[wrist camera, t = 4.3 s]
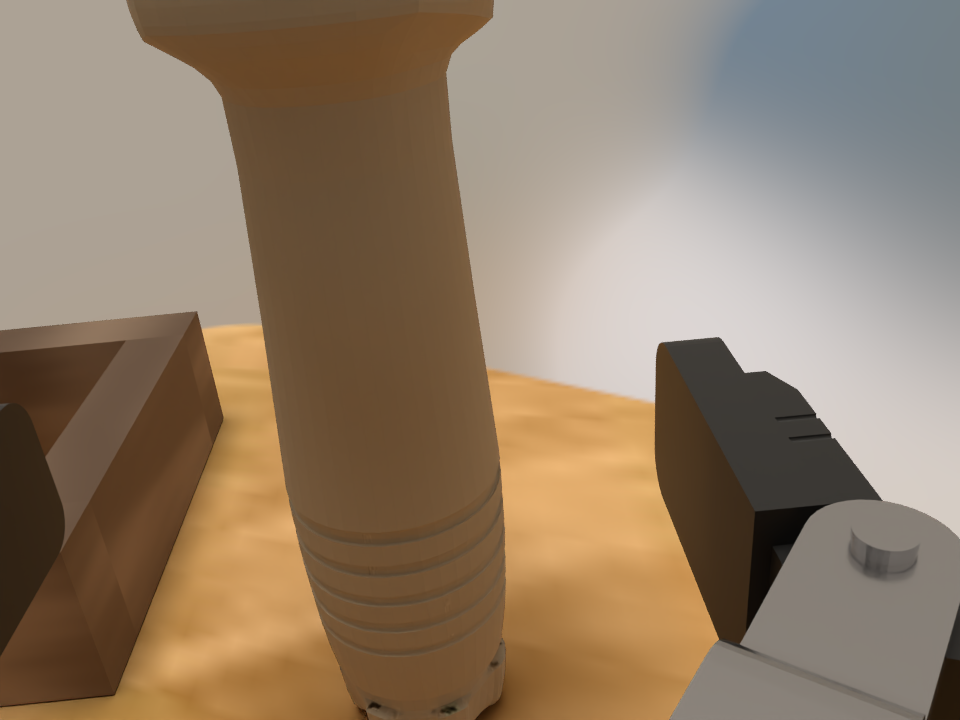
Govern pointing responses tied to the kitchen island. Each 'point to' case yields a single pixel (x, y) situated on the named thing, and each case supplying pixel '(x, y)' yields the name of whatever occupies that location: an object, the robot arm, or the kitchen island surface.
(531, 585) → the kitchen island surface
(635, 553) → the kitchen island surface
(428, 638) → the handle
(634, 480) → the kitchen island surface
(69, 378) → the socket
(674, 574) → the kitchen island surface
